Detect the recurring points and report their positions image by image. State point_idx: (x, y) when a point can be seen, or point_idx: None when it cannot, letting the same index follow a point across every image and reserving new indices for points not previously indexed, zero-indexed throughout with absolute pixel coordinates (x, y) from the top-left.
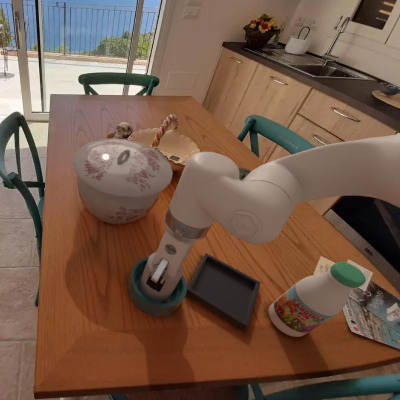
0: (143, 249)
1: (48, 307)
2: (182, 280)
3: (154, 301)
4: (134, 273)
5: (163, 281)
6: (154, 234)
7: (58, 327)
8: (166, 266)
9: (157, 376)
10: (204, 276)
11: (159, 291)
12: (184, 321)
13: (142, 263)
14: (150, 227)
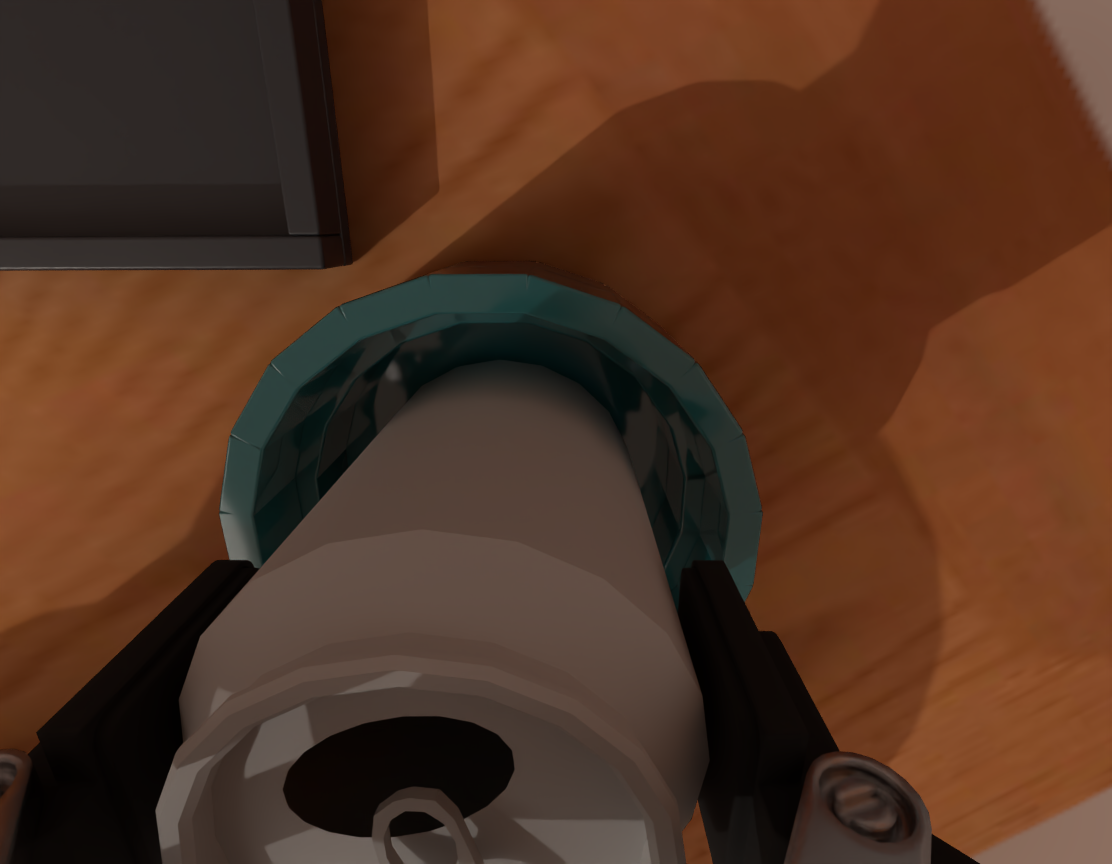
0: None
1: (976, 835)
2: (318, 368)
3: (623, 443)
4: None
5: (822, 771)
6: (65, 659)
7: (1053, 752)
8: (496, 819)
9: (1087, 165)
10: (51, 176)
11: (724, 566)
12: (580, 162)
13: None
14: (36, 704)
